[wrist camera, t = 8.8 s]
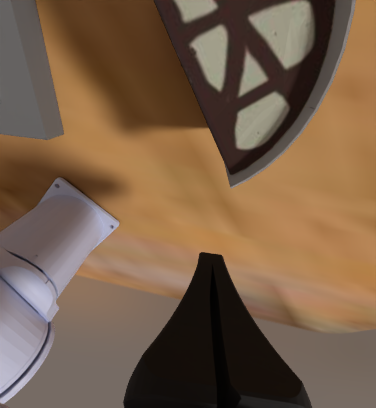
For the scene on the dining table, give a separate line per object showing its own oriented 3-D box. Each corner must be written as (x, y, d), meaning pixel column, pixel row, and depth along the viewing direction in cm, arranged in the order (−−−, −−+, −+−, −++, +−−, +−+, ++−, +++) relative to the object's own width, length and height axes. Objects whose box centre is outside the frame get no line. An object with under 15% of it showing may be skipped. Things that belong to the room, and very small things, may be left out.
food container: (295, 109, 16) (393, 138, 7) (222, 143, 18) (235, 198, 9) (241, -115, 11) (364, -873, 2) (148, -34, 13) (20, -277, 4)
